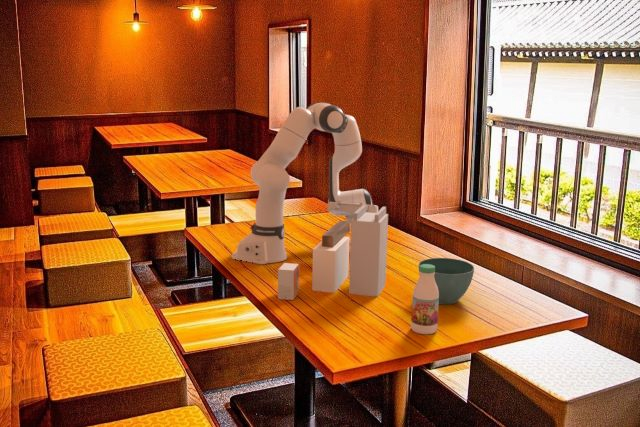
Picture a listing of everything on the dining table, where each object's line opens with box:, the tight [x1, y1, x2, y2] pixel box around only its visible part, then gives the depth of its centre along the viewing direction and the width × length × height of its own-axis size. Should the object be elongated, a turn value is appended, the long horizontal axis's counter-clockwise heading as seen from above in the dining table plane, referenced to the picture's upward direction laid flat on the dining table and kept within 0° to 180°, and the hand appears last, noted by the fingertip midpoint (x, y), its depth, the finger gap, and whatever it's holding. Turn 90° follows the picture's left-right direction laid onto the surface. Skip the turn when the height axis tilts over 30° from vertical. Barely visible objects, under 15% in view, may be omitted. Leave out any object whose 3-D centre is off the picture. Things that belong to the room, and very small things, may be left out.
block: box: [311, 236, 350, 294], centre depth 237 cm, size 8×20×15 cm, turn 164°
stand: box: [348, 205, 389, 298], centre depth 230 cm, size 10×14×28 cm
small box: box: [277, 262, 300, 301], centre depth 223 cm, size 8×6×10 cm
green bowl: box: [418, 257, 475, 305], centre depth 221 cm, size 18×18×12 cm
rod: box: [321, 220, 351, 247], centre depth 240 cm, size 4×24×4 cm, turn 164°
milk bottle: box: [410, 264, 439, 335], centre depth 195 cm, size 8×8×20 cm
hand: (349, 203), depth 257 cm, fingers open, 8 cm apart
